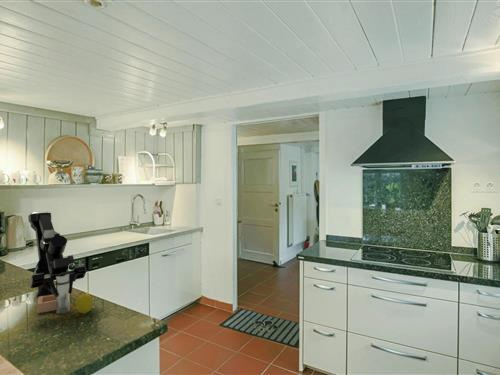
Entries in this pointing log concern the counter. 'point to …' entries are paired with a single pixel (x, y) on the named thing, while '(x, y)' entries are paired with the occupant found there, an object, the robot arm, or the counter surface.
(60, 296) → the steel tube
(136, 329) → the counter surface
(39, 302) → the terracotta collar
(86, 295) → the lemon
